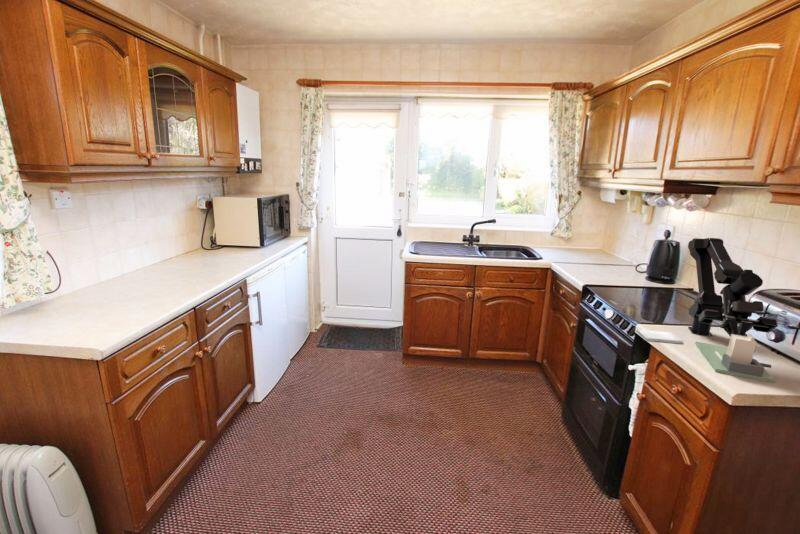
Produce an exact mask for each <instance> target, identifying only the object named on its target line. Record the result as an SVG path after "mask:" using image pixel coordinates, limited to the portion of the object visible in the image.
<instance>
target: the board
mask: <svg viewBox="0 0 800 534" xmlns="http://www.w3.org/2000/svg"><path fill="white" fill-rule="evenodd" d="M695 344H696V345H695ZM694 345H695V347H697V349H698V350H699V352H700V353H701V354H702V356H703V357H704V359H705V360H706V361H707V362H708V364H709V365H710V367H712V369H713V371H715V373H721V374H726V375H732V376H737V377H742V378H748V379H752V380H753V379H754V380H758V381H764V382H769V383H775V381H776V379H775V378H774V377H773V376H772V375H771V374H770V373H769V372H768V371H767V370H766V369H765V368H764V372H763V375H762V377H758V376H753V375H748V374H742V373H737V372H731V371H728V370H727V369H726V368H725V366H724V365H723V364H722V363H721V362H722V358H723V354H726V352H727V349H728V346H725V345H719V344H714V343H707V342H701V341H695V342H694ZM752 359H755V358H754V357H753V358H752Z"/></svg>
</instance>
